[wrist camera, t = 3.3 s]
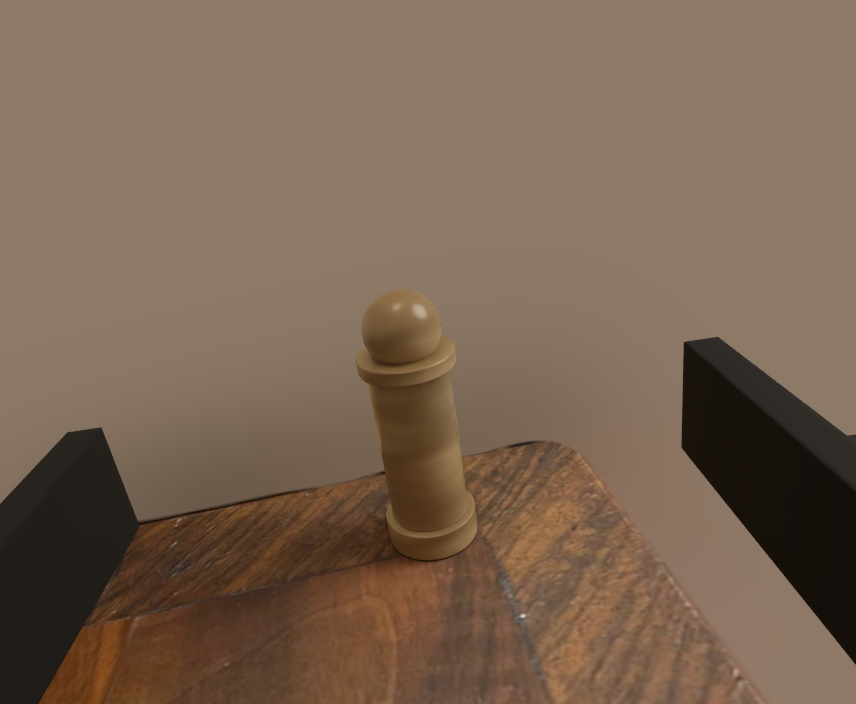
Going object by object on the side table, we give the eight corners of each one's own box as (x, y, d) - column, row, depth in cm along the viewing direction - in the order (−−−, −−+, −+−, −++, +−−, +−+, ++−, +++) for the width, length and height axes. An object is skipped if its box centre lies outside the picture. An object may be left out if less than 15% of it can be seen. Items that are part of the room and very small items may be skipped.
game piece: (392, 568, 26) (343, 317, 21) (388, 510, 29) (344, 284, 25) (485, 551, 26) (453, 299, 22) (469, 496, 29) (440, 269, 25)
